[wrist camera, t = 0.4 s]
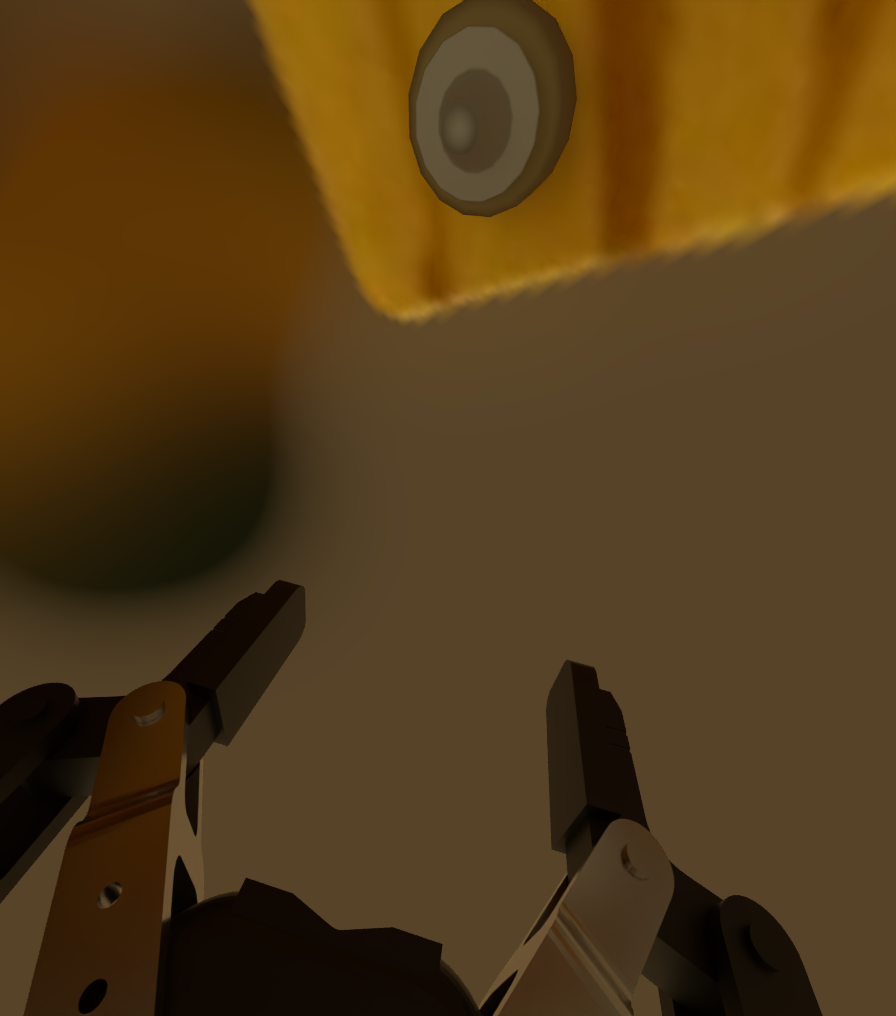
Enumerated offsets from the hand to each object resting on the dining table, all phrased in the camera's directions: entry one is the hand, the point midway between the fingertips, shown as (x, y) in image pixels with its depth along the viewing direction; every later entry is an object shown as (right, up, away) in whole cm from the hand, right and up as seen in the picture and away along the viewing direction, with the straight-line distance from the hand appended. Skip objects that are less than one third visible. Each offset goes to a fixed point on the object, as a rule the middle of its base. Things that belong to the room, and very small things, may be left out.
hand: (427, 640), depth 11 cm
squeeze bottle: (+4, +29, +12) cm, 32 cm away
